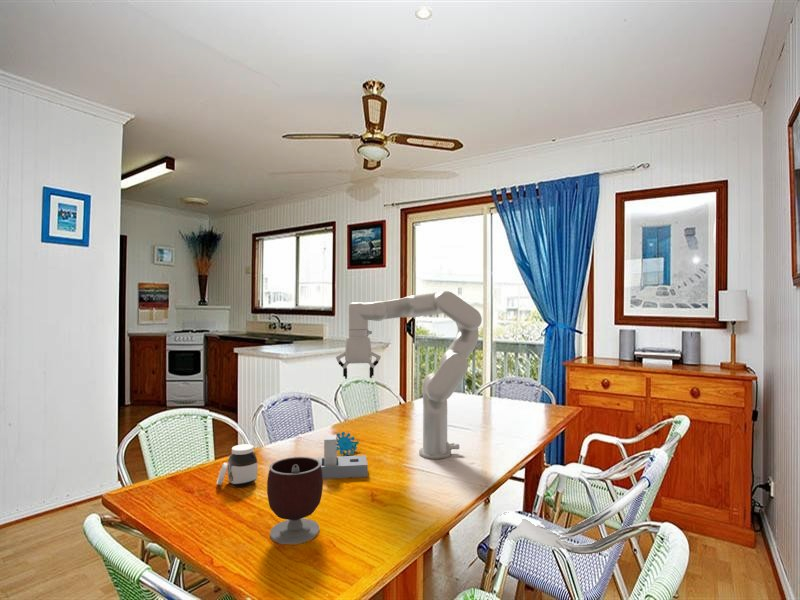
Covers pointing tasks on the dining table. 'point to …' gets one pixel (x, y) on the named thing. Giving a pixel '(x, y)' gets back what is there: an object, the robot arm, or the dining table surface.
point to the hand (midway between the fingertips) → (358, 378)
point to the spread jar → (240, 466)
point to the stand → (345, 467)
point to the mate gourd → (294, 498)
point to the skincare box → (330, 450)
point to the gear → (346, 444)
